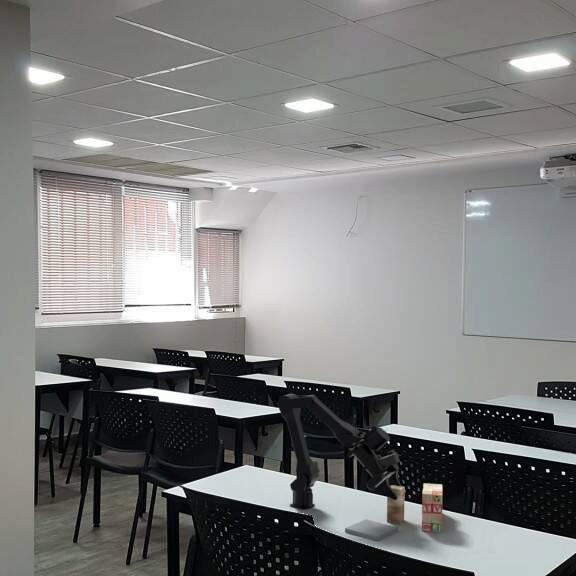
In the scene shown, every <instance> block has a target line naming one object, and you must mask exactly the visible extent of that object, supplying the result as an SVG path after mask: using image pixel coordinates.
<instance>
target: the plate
mask: <svg viewBox="0 0 576 576" xmlns="http://www.w3.org/2000/svg"><path fill="white" fill-rule="evenodd" d="M344 532H345V533H347V534H351V535H355V536H359V537H361V538H366V539H370V540H372V541H381V540H382V539H385V538H386V537H389V536H391V535H393V534H395V533H397V532H399V527H398V526H395V525H390V524H386V523H382V522H379V521H374V520H370V519H366V518H365V519H364V520H361V521H358V522H356V523H354V524H352V525H349V526H346V527H345V528H344Z"/></svg>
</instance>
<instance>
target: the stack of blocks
mask: <svg viewBox="0 0 576 576" xmlns="http://www.w3.org/2000/svg"><path fill="white" fill-rule="evenodd" d="M422 487H423V488H422V493H421V494H422V495H421V496H422V499H421V501H422V502H421V503H422V504H421V507H422V508H421V515H422V517H421V518H422V519H421V532H425V533H439V534H441V533H442V529H443V484H440V483H439V484H438V483H423V485H422Z"/></svg>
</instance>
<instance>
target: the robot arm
mask: <svg viewBox="0 0 576 576" xmlns="http://www.w3.org/2000/svg"><path fill="white" fill-rule="evenodd" d="M277 407H278V409H279V412H280V414H281V416H282V418H283V419H284V420H285V421H286V423H287V427H288V431H289V435H290V439H291V440H290V441H291V444H292V447H293V451H294V455H295V458H296V466H295V476H296V478H295V479H294V480H293V481H292V482H291V483H290V484H289V486H290V490H291V491H292V503H290V504H289V506H290V507H292V508H297V509H301V510H306V509H308V508H313V507H314V506H316V504H315V503H314V494H313V488H312V487H314V485H315V483H316V482H317V481H318V480H319V477H320V473H321V471H320V468H319V465H318V464H319V463H318V461H317V460H315V461H313V459H312V458H311V457H310V452H309V450H308V445H307V442H306V438H305V434H304V430H303V427H302V426H303V425H302V422H301V418H300V417H301V410H302V408H308V409H309V410H310V411H311V412H312V413H313V414H314V415H315V416H316V417H318V419H319V420H321V421H322V422H323V423H324V424H325V425H326V426H327V427H328V428H329V429H331V431H332V432H333V434H334V437H335V438H336V440H338V442H339V443H340V445H342V446H343V447H346V448H347V447H352V446H353V448H348V449H347V458H351V457H353V456H354V457H355V458H356V459H357V461H359V463H360V465H362V466H363V467H362V470H363V471H366V472H367V473H368V474H369V475H370V476H371V477H370V479H368V480H367V481H365V482H366V486H365V487H366V488H367V489H368V490H369V491H370V492H371V491H374V492H377V493H379V494H381V495H383V496H385V497H386V498H387V497H389V498H391V499H393V500H397V496H396V495H395V493H394V491H393V490H392V488H391V487H390V486H391V485H395V486H402V484H401V482H400V480H399V478H398V476H399V475H398V473H399V468H400V467H399V466H398V463H400V462H401V461H400V458H399V457H400V455H399V453H397V451H395V450H389V451H388V452H387V455H386V456H383V457H382V456H381V455H380V454H376V453H375V451H376V452H377V451H379V450H380V449H382V447H383V446H384V445H385V444H387V443H388V442H389V441H390V435H389V433H387V431H386V430H385V429H383V428H382V427H380V426H378V425H377V424H375V425H372V427H371V428H370V429H369V430H368V432H364V431H360V430H359V429H358V428H356V427H355V426H353V425H352V424H350V423H348V422H346V421H344V420H342V419H340V418H339V417H338V415H336V414H335V413H334V412H333V411H332V410H331V409H330V408H329V407H327V406H326V405H325V404H324V403H323V402H322V401H321V400H320V399H318V397H317V396H316V395H315V394H310V395H297V394H294V393H288V394H286V395H285V394H284V395H282V396H280V397H279V398H278V400H277ZM361 442H362V443H361ZM360 443H361V444H360Z"/></svg>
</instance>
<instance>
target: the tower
mask: <svg viewBox="0 0 576 576" xmlns="http://www.w3.org/2000/svg"><path fill="white" fill-rule="evenodd" d="M390 487H391V488H392V490H393V491H394V493H395V495H396V496H397V500H393V499H391V498H389V497H387V496H386V502H387V503H386V506H387V507H386V522H387V523H393V524H399V525H401V524H402V523H403V522H404V521H405V496H406V495H405V492H406V491H405V486H402V485H401V486H395V485H391V486H390Z"/></svg>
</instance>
